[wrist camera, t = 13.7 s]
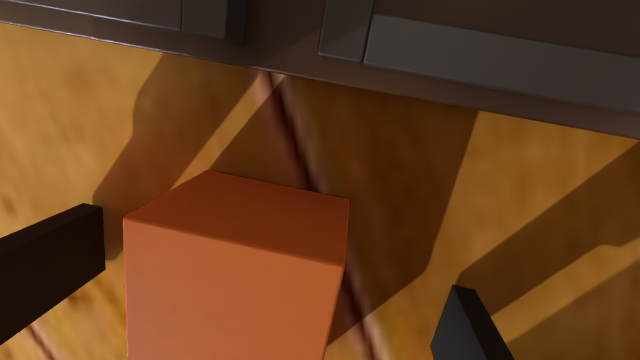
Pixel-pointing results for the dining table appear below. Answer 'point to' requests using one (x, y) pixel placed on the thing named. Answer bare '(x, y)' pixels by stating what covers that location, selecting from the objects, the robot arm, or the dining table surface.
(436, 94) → the dark grey divided tray
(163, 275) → the pad
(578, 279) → the dining table surface
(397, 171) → the dining table surface
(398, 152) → the dining table surface
